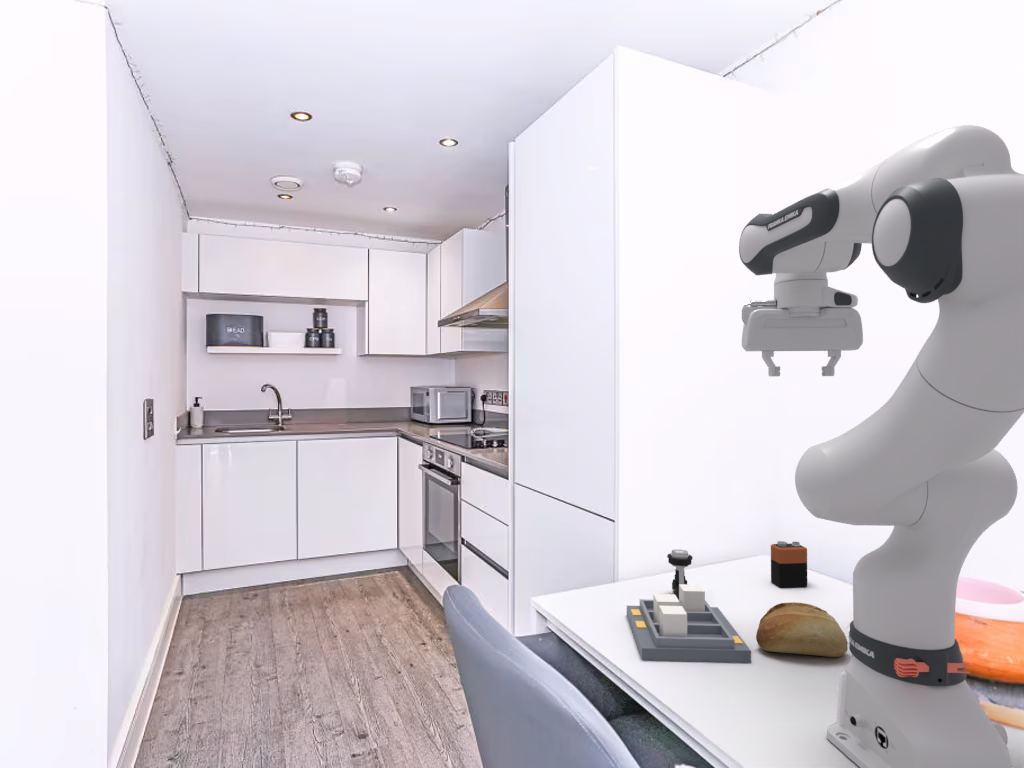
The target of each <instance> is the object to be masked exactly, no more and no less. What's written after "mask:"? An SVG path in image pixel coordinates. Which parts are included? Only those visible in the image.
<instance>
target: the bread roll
mask: <svg viewBox="0 0 1024 768" xmlns="http://www.w3.org/2000/svg"><path fill="white" fill-rule="evenodd" d="M755 635H756V636H755V638H756V639H755V640H756V642H757V646H758V647H759V648H761V649H762V650H764V651H767V652H769V653H770V652H773V653H782V654H783V653H784V654H794V655H795V654H796V655H808V656H809V655H810V656H818V657H827V658H828V657H829V658H839V657H842V656H844V655H845V654H846V653H847V652H848V649H849V647H848V646H849V645H848V644H849V642H848V639H847V636H846V635H845V632H844V630H842V628H841V626H840V624H839V623H838V622H837V620H836V619H835V617H833V616H832V615H831V614H829V612H828V611H827V610H824V609H822V608H820V607H818V606H815V605H813V604H810V603H805V602H804V603H803V602H795V601H793V602H781V603H777V604H776V605H774V606H772V607H770V608H769V609H768V610H767V612H766V613H765V614H764V615H763V616H762V617H761V619H760V621H759V624H758V628H757V631H756V634H755Z"/></svg>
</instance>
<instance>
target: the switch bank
mask: <svg viewBox="0 0 1024 768" xmlns="http://www.w3.org/2000/svg"><path fill="white" fill-rule="evenodd" d="M685 612H686V613H687V637H667V636H660V634H659V623H654V603H653V599H642V598H641V599H639V605H626V617H627V621H628V623H629V626H630V629H631V633H632V635H633V638H634V642H635V644H636V646H637V647H636V648H637V650H638V653H639V656H640V658H641V661H656V662H657V661H662V662H663V661H664V662H665V661H666V662H670V661H671V662H701V663H702V662H703V663H704V662H708V663H709V662H710V663H744V664H745V663H748V664H749V663H750V664H751V663H752V650H751V648H750V647H749V646H748V645H747V643H746V642H745V641H744V640H743V638H742V637H741V636H740V634H739V633H738V632H737V631H736V629H735V627H734V626H733V625H732V624H731V622H730V621H729V620H728V619H727V617H726V616H725V615H724V613H723V612H722V611H721V609H719V607H718V606H710V604H709V603H708V601H707V600H705V612H703V611H685Z"/></svg>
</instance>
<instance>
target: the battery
mask: <svg viewBox="0 0 1024 768" xmlns="http://www.w3.org/2000/svg"><path fill="white" fill-rule="evenodd" d="M770 582H771V584H774V585H776V586H777V587H778V588H781V589H786V588H787V589H793V588H807V587H808V548H807V547H805V546H803V545H801V544H800V542H799V541H792V543H788V542H787V541H781V540H778V541H776V543H772V544H770Z"/></svg>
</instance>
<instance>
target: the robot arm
mask: <svg viewBox="0 0 1024 768" xmlns="http://www.w3.org/2000/svg"><path fill="white" fill-rule="evenodd" d="M863 244H871V249H872V250H871V251H872V255H873V257H874V260H875V262H876V264H877V265H878V267H879V268H880V269H881V270H882V271H883V273H884V274H885V275H886V276H887V277H888V279H889V280H890V281H891V282H893V284H895V285H897V286H899V287H901V288H903V289H905V293H906V295H907V297H908V298H909V300H912V301H914V302H916V303H920V304H929V303H932V302H935V301H938V302H937V303H938V308H939V313H938V318H937V321H936V324H935V326H934V327H933V330H932V331H931V333H930V335H929V336H928V337H927V339H926V340H925V342H924V343H923V346H921V349H920V350H919V352H918V354H917V356H916V358H915V359H914V360H913V362H912V364H911V366H910V367H909V369H908V371H907V373H906V374H905V376H904V377H903V378H902V380H901V382H900V383H899V385H898V387H897V388H896V390H895V391H894V393H893V394H892V395H891V397H889V399H887V401H886V402H885V403H884V404H883V405H882V406H881V407H880V408H878V409H877V410H876V411H875V412H874V413H872V414H871V415H870V416H869V417H867V418H865V420H863V421H861V422H859V424H857V425H856V426H854V427H853V428H851V429H849V430H848V431H846V432H844V433H842V434H840V435H838V436H836V437H834V438H832V439H829V440H827V441H824V442H821V443H818V444H815V445H812V446H810V447H809V448H807V449H806V450H805V451H804V452H803V454H802V456H801V457H800V459H799V460H798V463H797V464H796V465H797V466H796V467H795V468H796V469H795V473H794V484H795V489H796V493H797V496H798V498H799V501H800V502H801V503H802V505H803V506H804V507H805V509H806V510H807V511H808V512H809V513H810V514H812V516H813V517H815V518H817V519H821V520H827V521H830V522H835V523H841V524H845V525H852V526H887V527H888V526H891V527H892V526H893V529H892V531H891V533H890V535H889V536H888V538H887V539H886V540H885V541H884V543H883V544H882V545H880V546H879V547H877V548H876V549H874V550H872V551H870V552H868V553H866V554H864V555H863V556H861V558H860V559H859V560H858V561H857V563H856V564H855V566H854V570H853V572H852V611H853V612H852V616H853V617H852V621H850V623H849V630H848V641H849V642H848V644H849V645H848V646H849V647H848V649H849V652H850V653H851V656H850V659H849V661H848V663H847V665H846V666H845V667H844V668H843V670H842V671H841V673H840V675H839V683H838V684H839V685H838V696H837V707H836V708H837V709H836V720H835V721H836V723H833V724H832V725H830V726H828V728H827V729H826V738H827V739H828V741H829V742H830V743H832V745H834V746H835V747H836V748H838V750H840V751H841V752H842V753H843V754H844V755H845V756H846V757H847V758H849V759H850V760H851V761H852V762H854V764H856V765H857V766H858V767H859V768H1012V761H1011V755H1010V751H1009V748H1008V746H1007V745H1008V742H1009V738H1008V734H1007V731H1006V729H1005V726H1004V725H1002V724H1001V723H999V722H998V723H997V722H992V721H991V719H990V717H989V716H988V715H987V714H988V713H987V712H986V711H985V710H984V708H983V705H981V702H980V700H979V699H978V697H976V695H975V694H974V693H973V691H972V689H971V688H970V686H969V684H968V682H967V681H966V679H967V674H970V673H971V672H970V671H969V670H966V668H967V667H970V663H965V662H964V656H963V653H962V651H961V648H960V646H959V645H960V644H959V642H958V640H957V639H956V633H955V632H956V606H957V605H956V601H957V599H956V598H957V587H958V581H959V576H960V575H961V570H962V567H963V565H964V563H965V561H966V559H967V557H968V554H969V553H970V551H971V550H972V548H973V546H974V545H975V543H977V541H978V540H979V538H980V537H981V536H982V534H983V533H984V532H986V531H987V529H989V528H990V527H991V526H992V525H994V524H995V523H996V522H998V521H999V520H1001V519H1003V518H1005V517H1006V516H1007V515H1008V514H1009V513H1010V511H1011V510H1012V509H1013V507H1014V505H1015V503H1016V499H1017V496H1018V489H1019V488H1018V487H1019V486H1018V481H1017V480H1018V479H1017V476H1016V473H1015V471H1014V468H1013V467H1012V465H1011V464H1010V461H1008V459H1006V457H1005V456H1004V455H1003V454H1002V453H1001V452H999V451H998V450H997V449H995V448H996V447H998V446H999V444H1000V443H1001V441H1003V439H1004V437H1006V435H1007V434H1008V433H1009V431H1010V430H1011V429H1012V428H1013V427H1014V425H1015V424H1016V423H1017V422H1018V420H1019V419H1020V418H1021V417H1022V415H1024V173H1020V172H1017V171H1015V170H1014V169H1013V168H1012V163H1011V155H1010V151H1009V149H1008V146H1007V145H1006V143H1005V142H1004V140H1003V138H1001V137H1000V136H999V135H998V134H996V133H995V132H994V131H992V130H990V129H989V128H986V127H983V126H979V125H972V124H965V125H964V124H963V125H958V126H957V125H956V126H952V127H949V128H947V129H943V130H940V131H938V132H935V133H933V134H929V135H928V136H925V137H922V138H920V139H919V140H916V141H915V142H912V143H911V144H909V145H907V146H905V147H904V148H901V149H900V150H898V151H896V152H895V153H893V154H892V155H891V156H889V157H888V158H886V159H884V160H883V161H880V162H879V163H877V164H875V165H874V166H872V167H870V168H868V169H867V170H864V171H862V172H860V173H858V174H856V175H855V176H852V177H850V178H848V179H846V180H843V181H841V182H839V183H836V184H834V185H831V186H830V187H828V188H825V189H823V190H820V191H818V192H817V193H814V194H811V195H809V196H805V198H802V199H799V200H798V201H797V202H794V203H792V204H791V205H788V206H787V207H785V208H782V209H780V210H778V211H777V212H774V213H773V214H772V213H759V214H757V215H755V216H754V217H753V218H752V219H751V220H750V221H749V222H748V223H746V225H745V226H744V227H743V229H742V231H741V234H740V238H739V246H738V252H739V258H740V261H741V262H742V264H743V265H744V266H745V267H746V268H747V269H748V270H749V271H750V272H751V273H752V274H754V275H755V276H765V275H767V276H768V275H772V274H775V277H774V282H773V299H766V300H755V299H753V300H750V301H749V302H747V303H745V304H744V305H743V307H742V308H741V321H742V323H743V325H742V326H743V327H742V333H741V334H742V335H741V347H742V348H743V350H744V351H745V352H761V359H762V360H763V362H764V364H765V365H766V367H768V376H769V377H780V376H781V372H780V371H781V366H776V364H775V362H774V361H773V359H772V358H773V357H775V352H827V357H828V358H830V359H829V360H828V362H827V364H826V365H823V366H821V376H822V377H834V376H835V367H836V365H837V364H838V362H839V361H840V359H841V357H842V351H846V352H847V351H849V352H850V351H857V350H860V348H861V347H862V345H863V343H864V342H863V341H864V334H863V323H862V317H861V314H860V312H859V311H858V310H857V309H855V308H854V307H857V306H858V301H859V300H858V296H857V295H856V294H853V293H851V292H846V291H843V290H839V289H836V288H834V287H830V286H829V280H828V276H827V273H836V272H839V271H840V272H841V271H843V270H844V271H845V270H846V269H848V268H849V267H851V265H853V264H854V263H855V261H856V260H857V259H858V258H859V256H860V254H861V251H862V248H863V247H862V245H863Z"/></svg>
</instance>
